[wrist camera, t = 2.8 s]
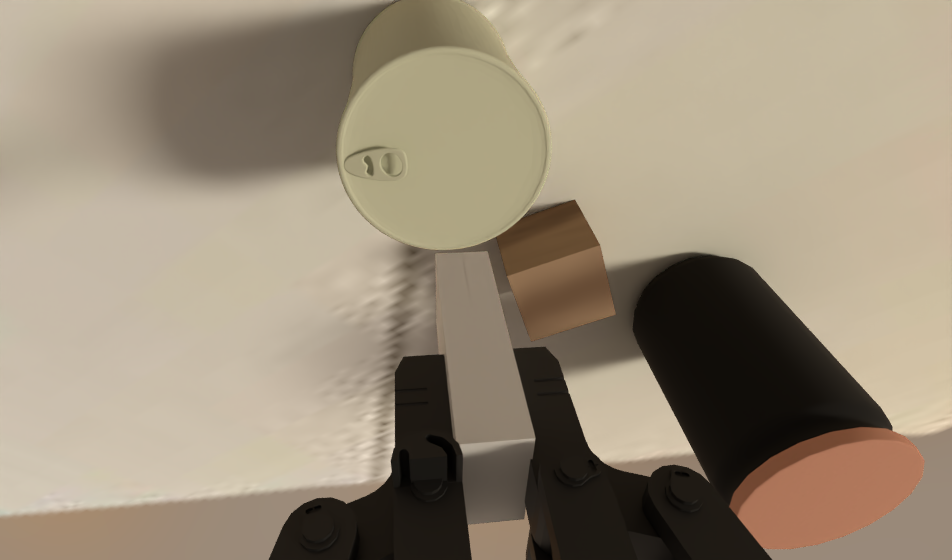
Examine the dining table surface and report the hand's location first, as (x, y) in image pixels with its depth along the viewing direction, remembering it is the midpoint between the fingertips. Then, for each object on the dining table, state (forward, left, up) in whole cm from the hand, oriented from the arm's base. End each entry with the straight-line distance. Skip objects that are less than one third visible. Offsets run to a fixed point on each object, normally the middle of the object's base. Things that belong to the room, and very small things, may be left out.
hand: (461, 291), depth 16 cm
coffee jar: (+18, +21, -21) cm, 34 cm away
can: (0, 0, -21) cm, 21 cm away
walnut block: (+12, +8, -20) cm, 25 cm away
